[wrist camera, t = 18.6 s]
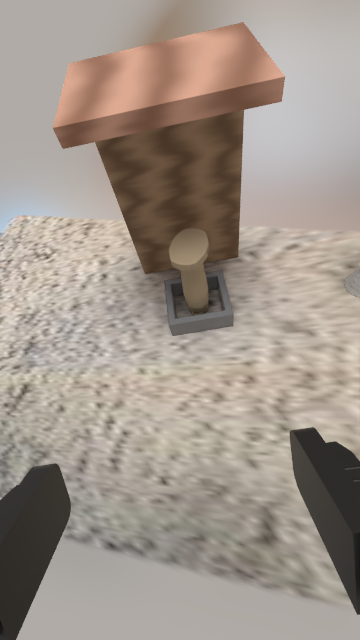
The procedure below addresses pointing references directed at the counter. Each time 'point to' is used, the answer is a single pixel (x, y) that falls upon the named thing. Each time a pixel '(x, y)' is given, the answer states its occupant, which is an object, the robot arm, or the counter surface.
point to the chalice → (353, 283)
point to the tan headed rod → (192, 267)
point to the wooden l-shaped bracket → (172, 132)
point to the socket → (202, 320)
